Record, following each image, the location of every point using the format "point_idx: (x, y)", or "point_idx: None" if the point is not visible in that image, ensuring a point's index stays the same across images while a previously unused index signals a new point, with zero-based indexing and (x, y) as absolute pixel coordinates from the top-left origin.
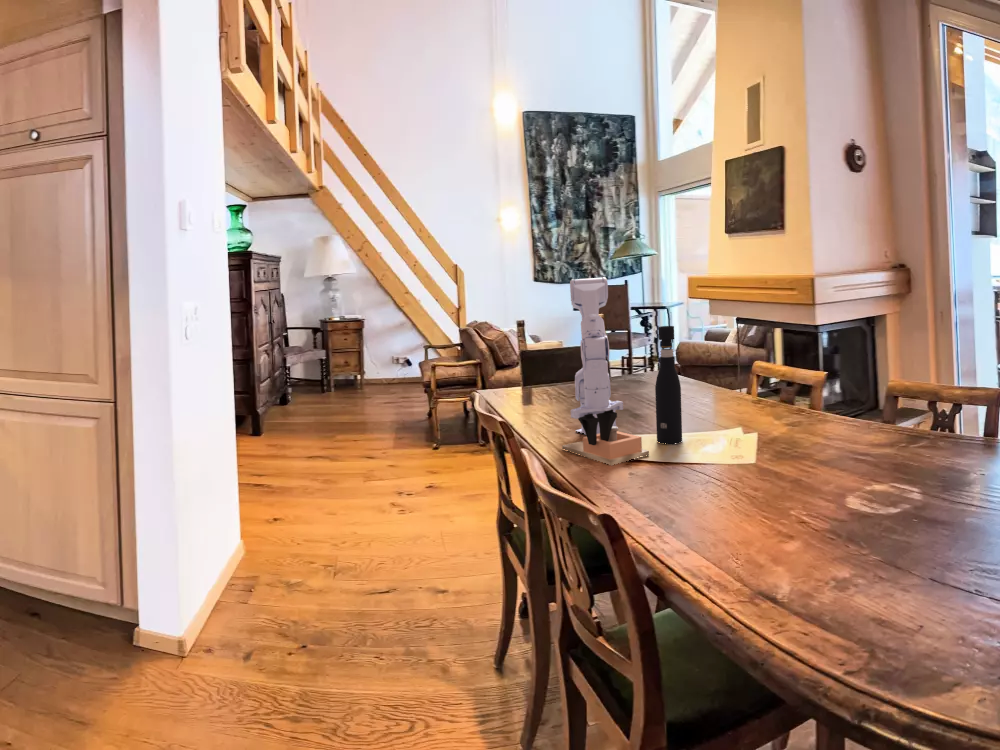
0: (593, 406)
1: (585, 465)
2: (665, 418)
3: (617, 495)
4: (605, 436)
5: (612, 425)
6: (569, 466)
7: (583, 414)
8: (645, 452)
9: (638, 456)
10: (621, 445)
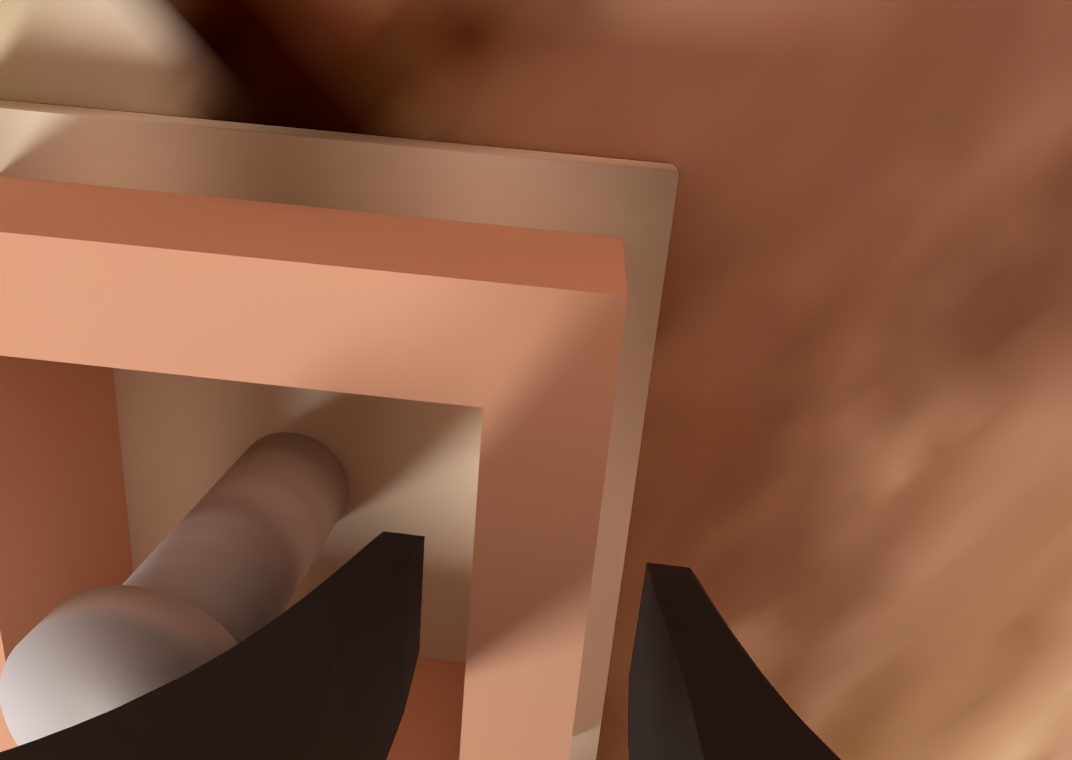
0: None
1: (867, 429)
2: None
3: None
4: (398, 615)
5: (189, 673)
6: (1018, 543)
7: None
8: None
9: (144, 115)
10: (343, 247)
